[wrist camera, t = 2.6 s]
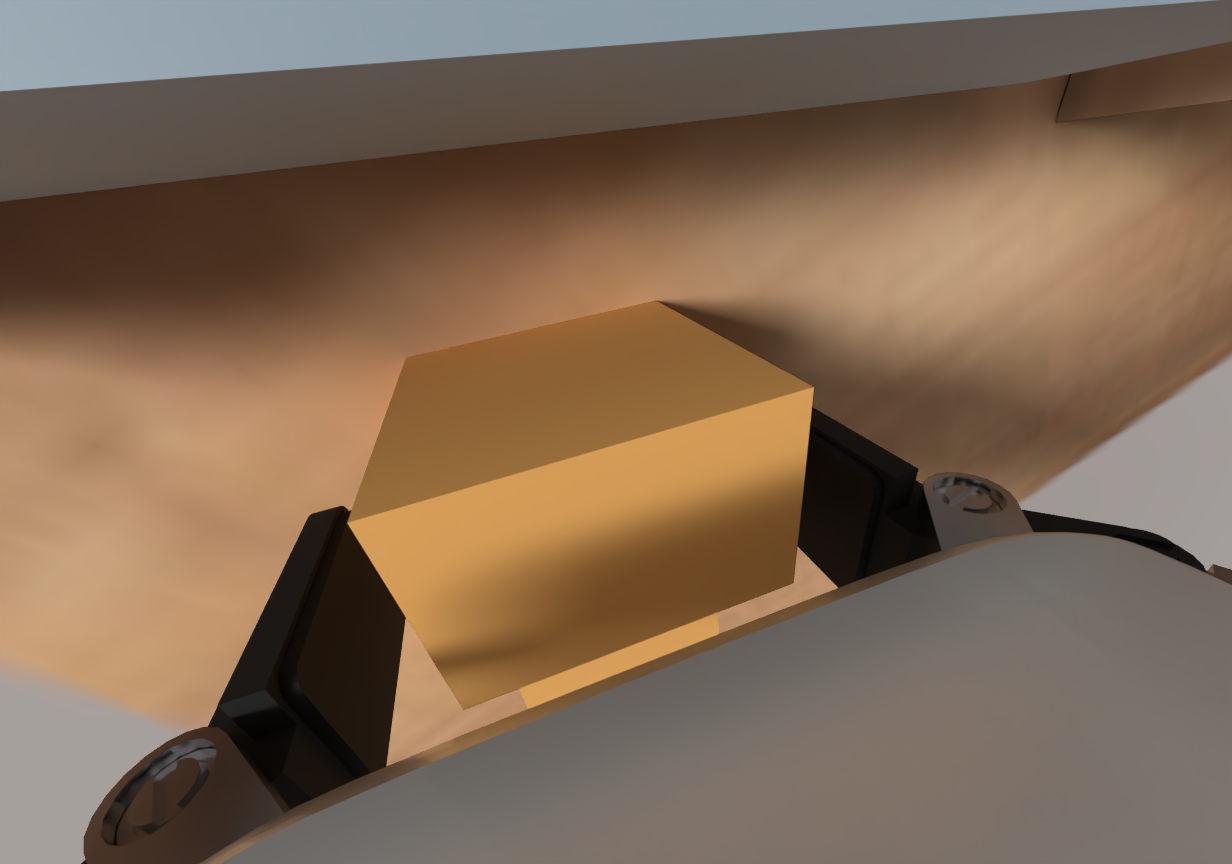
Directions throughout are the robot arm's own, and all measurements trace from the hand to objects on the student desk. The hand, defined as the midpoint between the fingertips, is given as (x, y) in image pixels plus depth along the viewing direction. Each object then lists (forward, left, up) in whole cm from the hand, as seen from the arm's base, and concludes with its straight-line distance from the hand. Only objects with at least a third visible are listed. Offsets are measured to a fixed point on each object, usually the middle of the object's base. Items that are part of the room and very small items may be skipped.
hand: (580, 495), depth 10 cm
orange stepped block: (0, +2, -2) cm, 3 cm away
